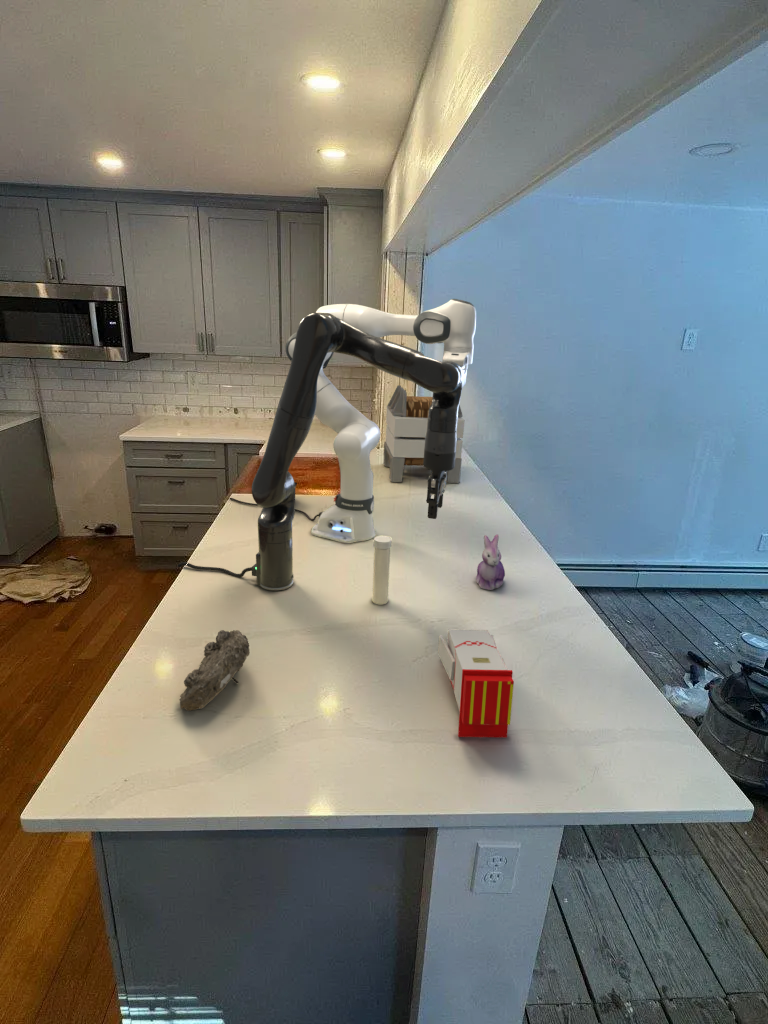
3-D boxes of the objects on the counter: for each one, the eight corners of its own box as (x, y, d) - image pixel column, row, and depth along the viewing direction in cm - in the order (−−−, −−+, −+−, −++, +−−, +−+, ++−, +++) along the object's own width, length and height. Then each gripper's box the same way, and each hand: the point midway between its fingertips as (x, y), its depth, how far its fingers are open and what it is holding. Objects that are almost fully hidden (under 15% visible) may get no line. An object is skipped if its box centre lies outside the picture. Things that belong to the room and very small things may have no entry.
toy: (488, 613, 130) (523, 677, 101) (484, 667, 133) (517, 744, 104) (435, 612, 130) (455, 676, 101) (432, 666, 133) (451, 743, 103)
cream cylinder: (390, 600, 154) (394, 540, 148) (381, 606, 151) (383, 544, 145) (379, 595, 156) (381, 536, 150) (369, 601, 153) (371, 540, 147)
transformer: (382, 463, 289) (386, 382, 275) (445, 464, 293) (451, 384, 279) (390, 482, 257) (394, 392, 243) (460, 483, 261) (468, 394, 247)
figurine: (487, 593, 160) (493, 544, 155) (466, 578, 168) (471, 531, 163) (513, 587, 164) (520, 540, 159) (491, 573, 172) (497, 527, 167)
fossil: (201, 632, 127) (249, 601, 122) (231, 661, 130) (278, 632, 125) (157, 704, 108) (212, 671, 103) (193, 736, 111) (248, 705, 106)
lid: (394, 545, 149) (395, 538, 148) (383, 550, 145) (384, 543, 144) (381, 540, 151) (381, 534, 151) (370, 545, 148) (370, 538, 147)
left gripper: (429, 440, 142) (425, 501, 147) (419, 453, 129) (414, 520, 134) (459, 443, 140) (453, 505, 146) (451, 457, 127) (445, 524, 133)
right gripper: (453, 354, 180) (449, 398, 185) (441, 358, 161) (437, 407, 166) (473, 355, 178) (468, 399, 183) (463, 360, 160) (459, 409, 164)
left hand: (434, 512), depth 140 cm, fingers open, 8 cm apart
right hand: (454, 403), depth 174 cm, fingers open, 8 cm apart
